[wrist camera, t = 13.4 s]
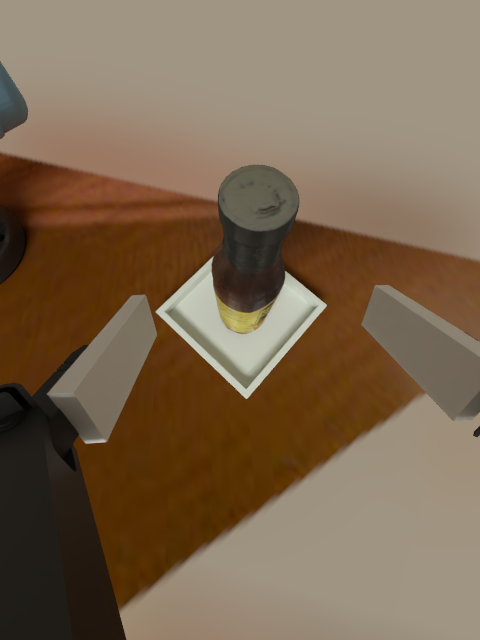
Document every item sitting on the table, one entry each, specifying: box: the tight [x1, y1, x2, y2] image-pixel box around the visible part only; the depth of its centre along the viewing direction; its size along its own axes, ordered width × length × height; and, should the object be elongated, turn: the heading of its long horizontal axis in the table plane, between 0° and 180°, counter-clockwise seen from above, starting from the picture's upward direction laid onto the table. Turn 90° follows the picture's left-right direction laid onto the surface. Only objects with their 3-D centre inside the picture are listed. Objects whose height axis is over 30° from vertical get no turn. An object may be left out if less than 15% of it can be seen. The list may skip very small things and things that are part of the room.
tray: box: [156, 256, 327, 399], centre depth 29 cm, size 16×16×2 cm
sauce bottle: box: [211, 165, 299, 334], centre depth 20 cm, size 7×6×20 cm
